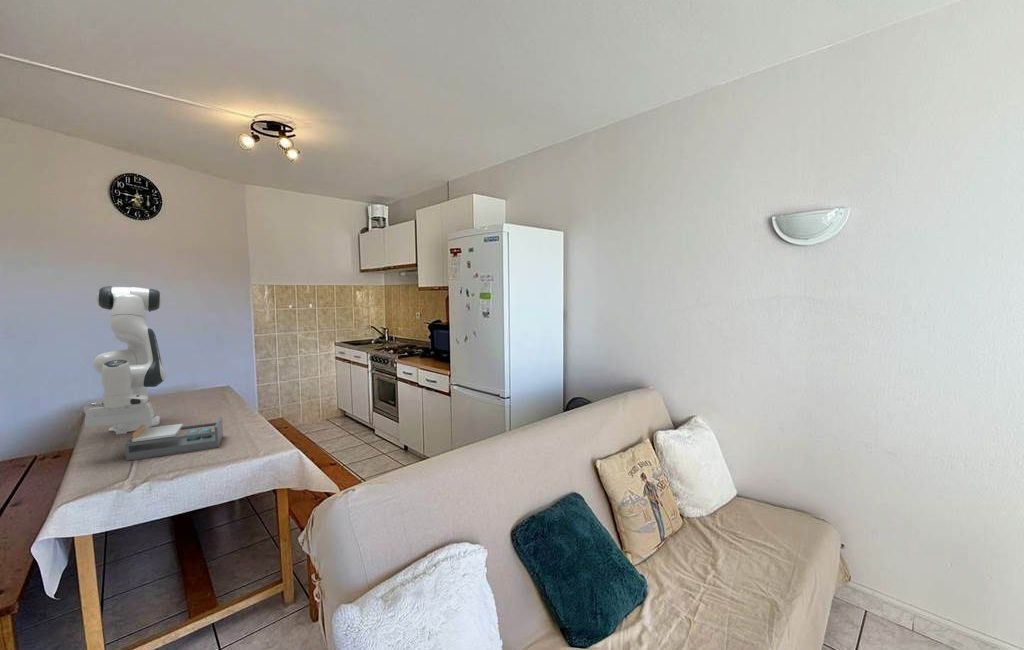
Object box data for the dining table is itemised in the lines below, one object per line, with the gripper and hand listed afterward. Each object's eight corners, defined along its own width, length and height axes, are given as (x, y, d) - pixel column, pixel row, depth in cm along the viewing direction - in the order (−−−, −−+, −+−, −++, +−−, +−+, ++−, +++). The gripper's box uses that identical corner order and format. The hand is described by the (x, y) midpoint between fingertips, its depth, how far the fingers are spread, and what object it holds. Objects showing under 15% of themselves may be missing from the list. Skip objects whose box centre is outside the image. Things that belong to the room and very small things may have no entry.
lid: (143, 430, 176) (143, 423, 176) (183, 425, 183) (182, 419, 183) (132, 442, 163) (131, 434, 163) (175, 436, 170) (174, 429, 170)
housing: (138, 448, 176) (136, 427, 175) (223, 436, 190) (222, 417, 190) (126, 460, 163) (124, 438, 162) (218, 447, 177) (217, 426, 176)
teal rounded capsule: (190, 444, 180) (189, 430, 179) (200, 443, 182) (199, 428, 181) (188, 447, 177) (187, 432, 176) (198, 446, 179) (197, 431, 178)
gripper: (80, 405, 158) (83, 440, 160) (148, 399, 168) (151, 432, 169) (86, 401, 164) (89, 435, 165) (153, 395, 174) (155, 427, 175)
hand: (121, 433), depth 167 cm, fingers closed
